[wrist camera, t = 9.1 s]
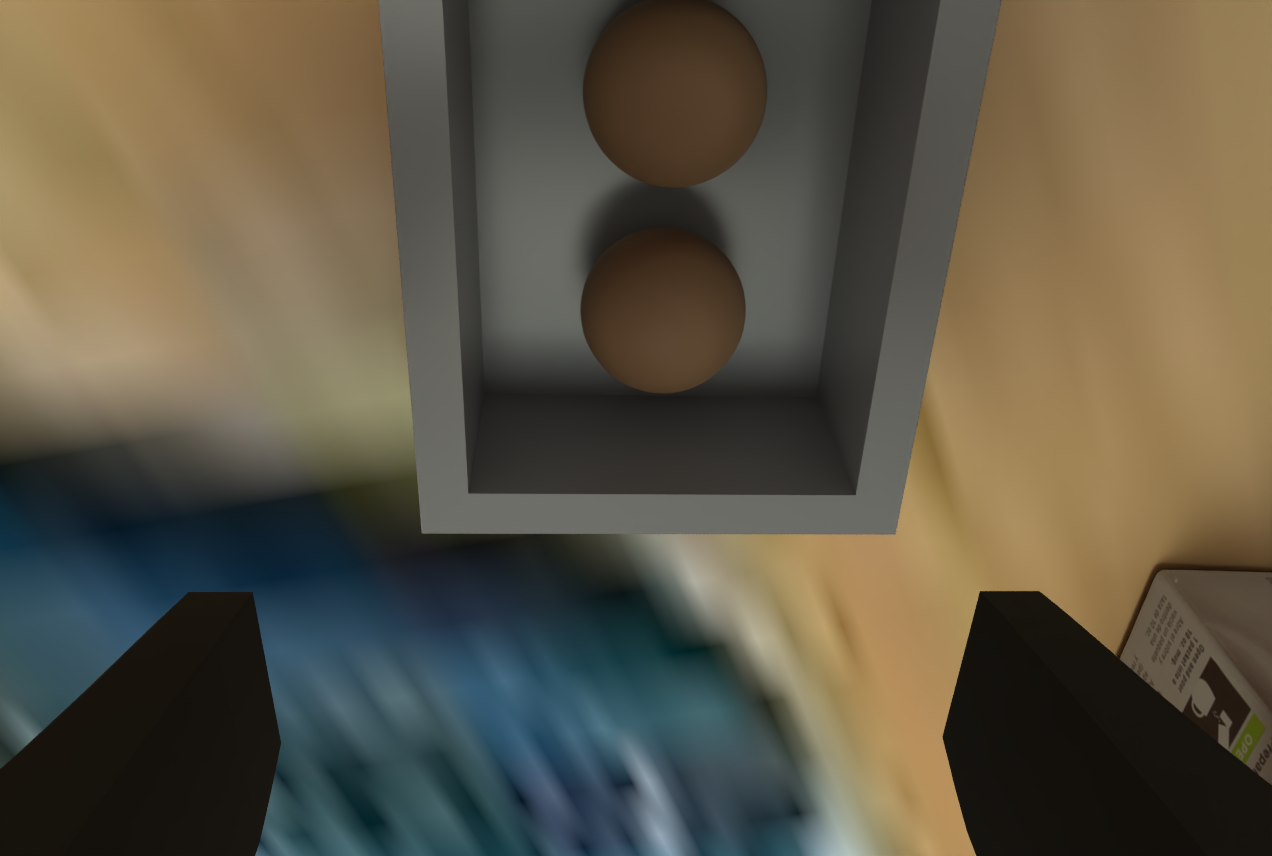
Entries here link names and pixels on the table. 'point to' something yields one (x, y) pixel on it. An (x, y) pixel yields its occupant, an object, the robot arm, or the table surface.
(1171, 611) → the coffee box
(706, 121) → the bead
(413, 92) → the tub
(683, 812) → the table surface
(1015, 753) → the robot arm
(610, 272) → the bead
